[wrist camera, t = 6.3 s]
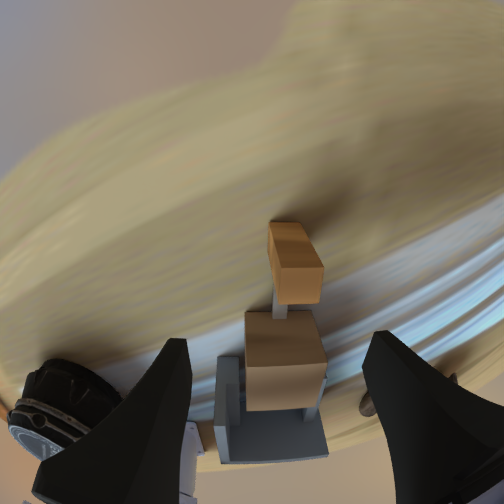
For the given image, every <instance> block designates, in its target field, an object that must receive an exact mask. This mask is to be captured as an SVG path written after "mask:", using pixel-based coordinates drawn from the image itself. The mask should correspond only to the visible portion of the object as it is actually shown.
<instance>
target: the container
mask: <svg viewBox="0 0 504 504" xmlns="http://www.w3.org/2000/svg"><path fill="white" fill-rule="evenodd" d="M122 401H123V400H122V399H121V397H120V396H119V395H118V393H117V392H116V391H115V390H114V388H113V387H112V386H111V385H109V384H108V383H107V382H106V381H104V380H103V379H102V378H101V377H99V376H98V375H96V374H95V373H94V372H92V371H90V370H88V369H86V368H85V367H83V366H80V365H77V364H74V363H71V362H68V361H65V360H61V359H50V360H47V361H45V363H44V364H43V365H42V367H41V368H39V370H35V372H30V373H29V374H28V376H27V379H26V382H25V386H24V390H23V394H22V398H21V399H18V400H17V402H16V404H15V409H13V410H11V411H9V412H8V413H7V421H8V429H9V432H10V433H11V435H12V436H13V437H14V439H15V440H16V441H17V442H18V443H19V444H20V445H21V446H22V447H23V448H24V449H26V450H27V451H28V452H29V453H31V454H32V455H33V456H35V457H36V458H37V459H39V460H41V461H44V460H46V459H48V458H49V457H51V456H53V455H55V454H57V453H58V452H60V451H62V450H64V449H65V448H67V447H68V446H70V445H71V444H73V443H74V442H76V441H77V440H79V439H80V438H81V437H83V436H84V435H86V434H87V433H88V432H90V431H91V430H92V429H93V428H94V427H96V426H97V425H98V424H99V423H100V422H101V421H102V420H104V419H105V418H106V417H107V416H108V415H109V414H110V413H111V412H112V411H113V410H114V409H115V408H116V407H117V406H118V405H119V404H120V403H121V402H122Z"/></svg>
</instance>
